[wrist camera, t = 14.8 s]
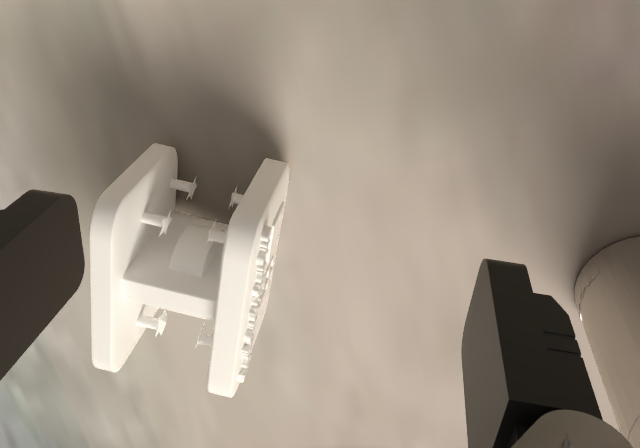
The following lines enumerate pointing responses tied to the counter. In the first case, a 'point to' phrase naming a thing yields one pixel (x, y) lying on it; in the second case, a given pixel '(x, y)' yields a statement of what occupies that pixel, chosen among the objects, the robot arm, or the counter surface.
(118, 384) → the counter surface
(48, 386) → the counter surface
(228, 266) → the cable organizer
